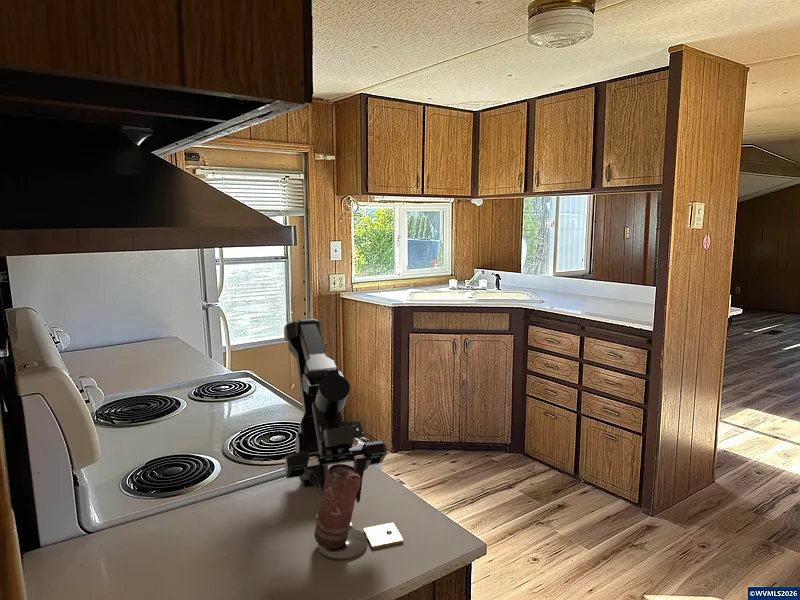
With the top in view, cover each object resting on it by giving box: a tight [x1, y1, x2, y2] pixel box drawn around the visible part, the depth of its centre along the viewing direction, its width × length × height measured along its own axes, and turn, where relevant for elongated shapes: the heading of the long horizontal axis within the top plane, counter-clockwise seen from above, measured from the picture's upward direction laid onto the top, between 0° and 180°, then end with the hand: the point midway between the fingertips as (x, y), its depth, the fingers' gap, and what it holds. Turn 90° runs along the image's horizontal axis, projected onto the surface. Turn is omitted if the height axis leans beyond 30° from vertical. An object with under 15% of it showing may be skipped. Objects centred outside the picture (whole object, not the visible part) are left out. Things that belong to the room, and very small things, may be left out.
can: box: [313, 463, 361, 549], centre depth 101 cm, size 6×6×14 cm
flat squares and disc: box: [315, 513, 404, 561], centre depth 106 cm, size 15×15×1 cm
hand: (344, 504), depth 99 cm, fingers closed on can, 5 cm apart
